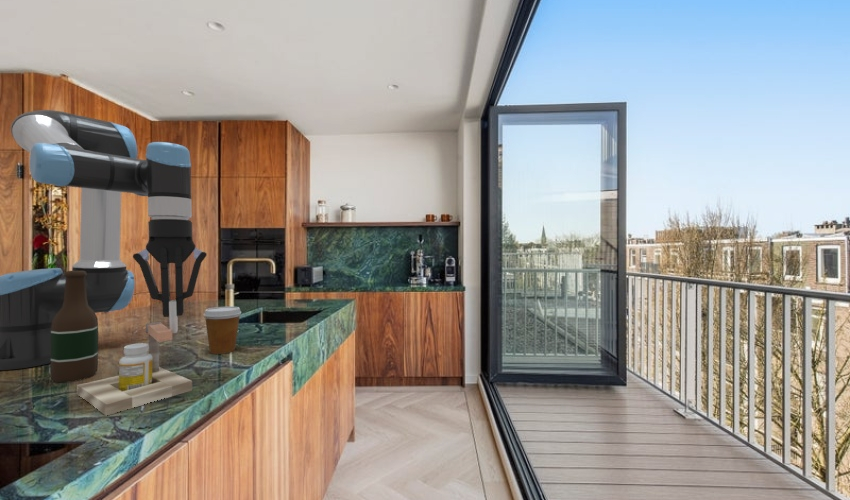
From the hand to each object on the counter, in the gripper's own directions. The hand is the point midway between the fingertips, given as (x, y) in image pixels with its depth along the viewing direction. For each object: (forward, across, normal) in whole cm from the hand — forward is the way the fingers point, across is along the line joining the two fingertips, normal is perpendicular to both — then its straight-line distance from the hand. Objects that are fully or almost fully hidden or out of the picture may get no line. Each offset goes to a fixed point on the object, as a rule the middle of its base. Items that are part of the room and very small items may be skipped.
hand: (173, 331), depth 77 cm
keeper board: (+12, +7, -1) cm, 13 cm away
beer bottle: (+12, +20, -18) cm, 30 cm away
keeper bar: (+1, +3, -3) cm, 4 cm away
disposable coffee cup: (+12, -9, -27) cm, 31 cm away
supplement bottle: (+12, +7, -1) cm, 14 cm away
